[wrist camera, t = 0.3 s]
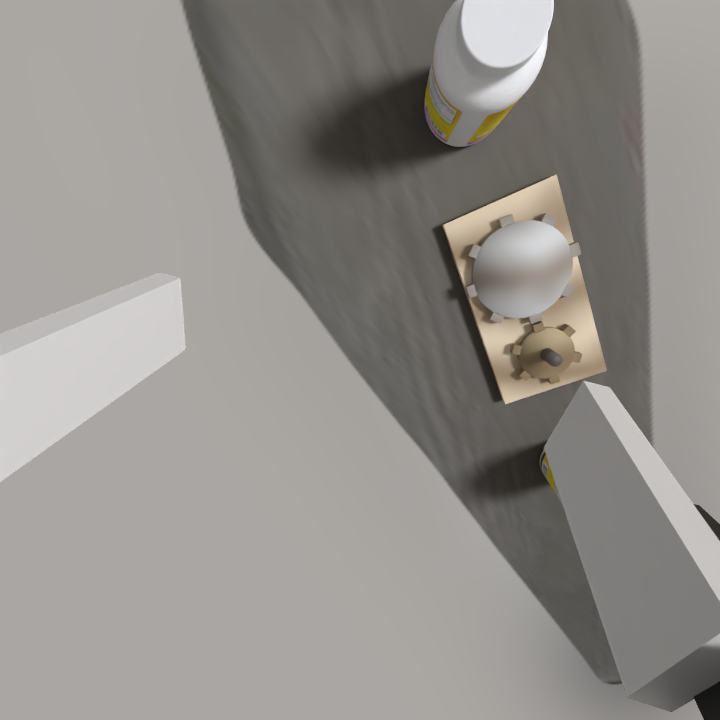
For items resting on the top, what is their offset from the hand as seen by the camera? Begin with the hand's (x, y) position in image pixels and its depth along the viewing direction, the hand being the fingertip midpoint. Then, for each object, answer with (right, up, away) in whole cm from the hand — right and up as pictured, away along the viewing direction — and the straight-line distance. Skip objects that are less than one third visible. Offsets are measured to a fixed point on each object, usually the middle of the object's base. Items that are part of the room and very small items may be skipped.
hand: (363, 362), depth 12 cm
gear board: (+16, +6, +23) cm, 29 cm away
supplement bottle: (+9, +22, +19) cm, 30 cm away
